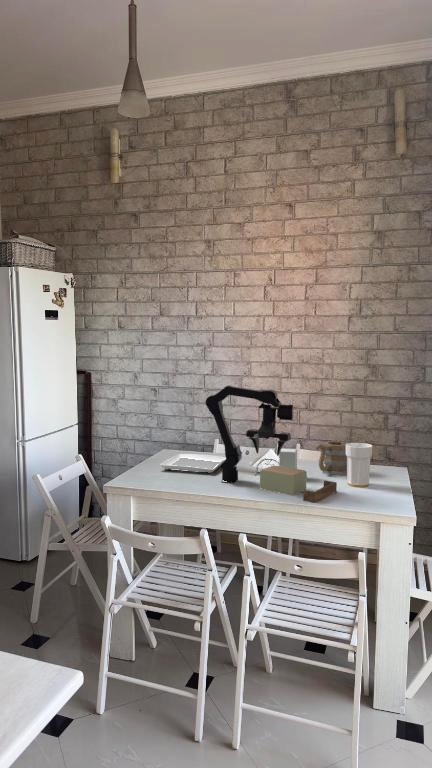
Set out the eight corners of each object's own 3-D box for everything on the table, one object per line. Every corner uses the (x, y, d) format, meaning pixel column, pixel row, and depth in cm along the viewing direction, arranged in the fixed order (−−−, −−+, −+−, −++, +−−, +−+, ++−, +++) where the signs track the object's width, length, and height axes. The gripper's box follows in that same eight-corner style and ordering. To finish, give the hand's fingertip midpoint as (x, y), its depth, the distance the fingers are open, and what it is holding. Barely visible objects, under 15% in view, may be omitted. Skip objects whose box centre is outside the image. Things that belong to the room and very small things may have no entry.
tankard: (336, 468, 274) (336, 437, 273) (355, 473, 263) (356, 441, 262) (305, 473, 263) (305, 441, 262) (324, 479, 253) (324, 446, 251)
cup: (352, 488, 236) (353, 448, 235) (339, 482, 247) (340, 443, 246) (376, 486, 239) (377, 446, 238) (362, 480, 250) (363, 442, 249)
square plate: (158, 472, 266) (158, 463, 266) (179, 460, 292) (179, 452, 292) (213, 476, 258) (213, 468, 258) (229, 463, 284) (229, 456, 284)
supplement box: (297, 475, 258) (297, 448, 257) (295, 479, 251) (295, 452, 250) (281, 474, 260) (281, 447, 259) (278, 478, 253) (279, 451, 252)
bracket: (303, 500, 219) (303, 490, 219) (324, 489, 235) (324, 480, 234) (315, 502, 216) (315, 492, 216) (336, 491, 232) (336, 482, 231)
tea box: (259, 489, 236) (260, 469, 235) (273, 483, 245) (273, 465, 244) (293, 495, 226) (293, 475, 226) (306, 490, 235) (306, 470, 234)
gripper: (242, 419, 238) (241, 455, 239) (285, 423, 231) (283, 460, 232) (250, 416, 248) (249, 450, 250) (292, 420, 241) (290, 455, 243)
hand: (267, 454), depth 243 cm, fingers open, 9 cm apart
